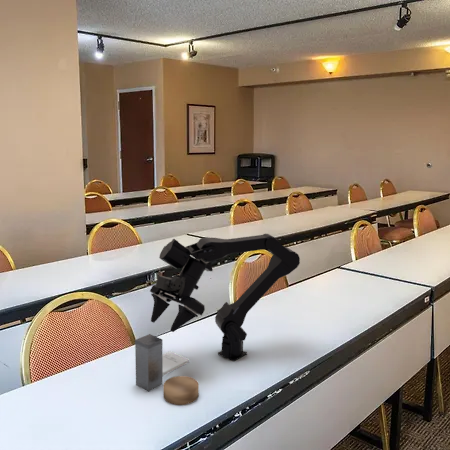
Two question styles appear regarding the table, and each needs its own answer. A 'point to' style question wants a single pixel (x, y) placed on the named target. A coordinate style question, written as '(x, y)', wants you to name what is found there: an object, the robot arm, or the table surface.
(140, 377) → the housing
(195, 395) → the stand
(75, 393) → the table surface
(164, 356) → the external hard drive
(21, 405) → the table surface
